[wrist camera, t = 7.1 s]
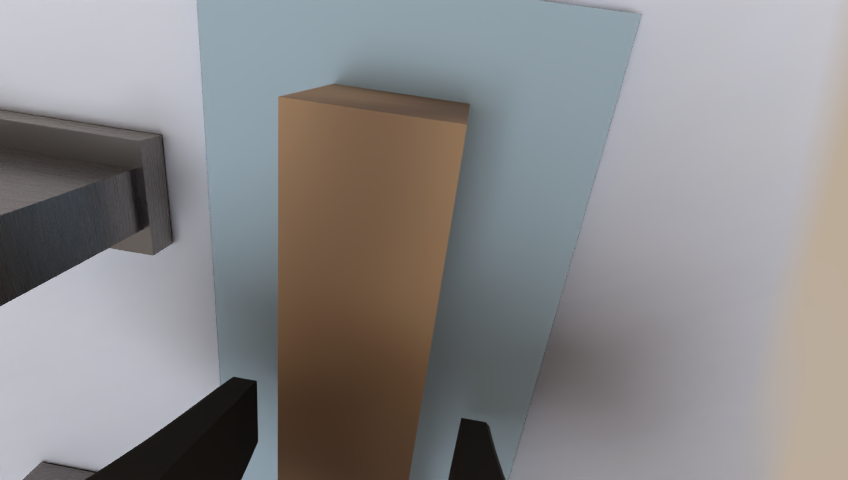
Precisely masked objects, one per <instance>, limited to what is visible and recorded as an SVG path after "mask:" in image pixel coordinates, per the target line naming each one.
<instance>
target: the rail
mask: <svg viewBox="0 0 848 480" xmlns="http://www.w3.org/2000/svg"><path fill="white" fill-rule="evenodd" d="M469 108H470V104H468V103H461V102H455V101H448V100H441V99H434V98H427V97H421V96H414V95H407V94H400V93H393V92H387V91H380V90H373V89H366V88H359V87H353V86H346V85H339V84H330V85H326V86H322V87H317V88H313V89H309V90H304V91H300V92H296V93H292V94H287V95H283V96H279V97H278V480H409V476H410V470H411V464H412V458H413V452H414V446H415V440H416V433H417V427H418V421H419V415H420V409H421V403H422V397H423V391H424V385H425V379H426V373H427V367H428V360H429V354H430V348H431V342H432V336H433V330H434V324H435V318H436V312H437V306H438V300H439V294H440V288H441V281H442V275H443V269H444V263H445V257H446V251H447V245H448V239H449V233H450V227H451V221H452V215H453V208H454V202H455V196H456V190H457V184H458V178H459V172H460V166H461V160H462V154H463V148H464V142H465V135H466V129H467V123H468V115H469Z"/></svg>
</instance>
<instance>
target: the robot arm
mask: <svg viewBox="0 0 848 480" xmlns="http://www.w3.org/2000/svg"><path fill="white" fill-rule="evenodd" d="M257 443H258V406H257V381H255V380H250V379H244V378H239V377H232V378H231V379H229V380H228V381H226V382H225V383H224V384H222V385H221V386H220V387H218V388H217V389H215V390H214V391H213V392H211V393H210V394H209V395H207V396H206V397H205V398H203V399H202V400H201V401H199V402H198V403H197V404H195V405H194V406H193V407H191V408H190V409H189V410H187V411H186V412H185V413H183V414H182V415H181V416H179V417H178V418H176V419H175V420H174V421H172V422H171V423H169V424H168V425H167V426H165V427H164V428H162V429H161V430H160V431H158V432H157V433H155V434H154V435H153V436H151V437H150V438H148V439H147V440H145V441H144V442H142V443H141V444H139V445H138V446H136V447H135V448H133V449H132V450H130V451H129V452H127V453H126V454H124V455H123V456H121V457H120V458H118V459H117V460H115V461H114V462H112V463H111V464H109V465H107V466H106V467H104V468H103V469H101V470H99V471H98V472H96V473H95V474H93V475H91V476H90V477H88V478H86V479H85V480H242V477H243V475H244V473H245V471H246V469H247V466H248V464H249V462H250V460H251V457H252V455H253V453H254V450H255V448H256V446H257ZM448 480H506V479H505V476H504V474H503V471H502V468H501V465H500V462H499V459H498V456H497V452H496V449H495V446H494V442H493V439H492V435H491V431H490V427H489V425H488V424H487V423H486V422H482V421H477V420H471V419H466V418H461V421H460V426H459V431H458V435H457V440H456V445H455V449H454V454H453V459H452V463H451V468H450V473H449V478H448Z"/></svg>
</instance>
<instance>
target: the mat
mask: <svg viewBox="0 0 848 480" xmlns="http://www.w3.org/2000/svg"><path fill="white" fill-rule="evenodd" d="M197 13H198V29H199V45H200V61H201V78H202V94H203V110H204V126H205V142H206V159H207V175H208V191H209V207H210V223H211V240H212V256H213V272H214V288H215V305H216V321H217V337H218V353H219V369H220V386H221V385H222V384H224V383H225V382H226V381H228V380H229V379H231V378H232V377H239V378H244V379H250V380H255V381H257V406H258V443H257V446H256V448H255V450H254V453H253V455H252V457H251V460H250V462H249V464H248V466H247V469H246V471H245V473H244V475H243V477H242V480H278V97H279V96H283V95H287V94H292V93H296V92H300V91H304V90H309V89H313V88H317V87H322V86H326V85H330V84H339V85H346V86H353V87H359V88H366V89H373V90H380V91H387V92H393V93H400V94H407V95H414V96H421V97H427V98H434V99H441V100H448V101H455V102H461V103H468V104H470V108H469V115H468V123H467V129H466V135H465V142H464V148H463V154H462V160H461V166H460V172H459V178H458V184H457V190H456V196H455V202H454V208H453V215H452V221H451V227H450V233H449V239H448V245H447V251H446V257H445V263H444V269H443V275H442V281H441V288H440V294H439V300H438V306H437V312H436V318H435V324H434V330H433V336H432V342H431V348H430V354H429V360H428V367H427V373H426V379H425V385H424V391H423V397H422V403H421V409H420V415H419V421H418V427H417V433H416V440H415V446H414V452H413V458H412V464H411V470H410V476H409V480H448V478H449V473H450V468H451V463H452V459H453V454H454V449H455V445H456V440H457V435H458V431H459V426H460V421H461V418H466V419H471V420H477V421H482V422H486V423H487V424H488V425H489V427H490V431H491V435H492V439H493V442H494V446H495V449H496V452H497V456H498V459H499V462H500V465H501V468H502V471H503V474H504V476H505V479H506V480H508V478H509V475H510V472H511V468H512V465H513V461H514V458H515V454H516V451H517V447H518V444H519V440H520V437H521V433H522V430H523V426H524V423H525V419H526V416H527V412H528V409H529V405H530V402H531V398H532V395H533V392H534V388H535V385H536V381H537V378H538V374H539V371H540V367H541V364H542V360H543V357H544V353H545V350H546V346H547V343H548V339H549V336H550V332H551V329H552V325H553V322H554V318H555V315H556V311H557V308H558V305H559V301H560V298H561V294H562V291H563V287H564V284H565V280H566V277H567V273H568V270H569V266H570V263H571V259H572V256H573V252H574V249H575V245H576V242H577V238H578V235H579V231H580V228H581V225H582V221H583V218H584V214H585V211H586V207H587V204H588V200H589V197H590V193H591V190H592V186H593V183H594V179H595V176H596V172H597V169H598V165H599V162H600V158H601V155H602V151H603V148H604V145H605V141H606V138H607V134H608V131H609V127H610V124H611V120H612V117H613V113H614V110H615V106H616V103H617V99H618V96H619V92H620V89H621V85H622V82H623V78H624V75H625V71H626V68H627V64H628V61H629V58H630V54H631V51H632V47H633V44H634V40H635V37H636V33H637V30H638V26H639V23H640V19H641V16H642V14H637V13H630V12H622V11H615V10H607V9H600V8H593V7H585V6H578V5H570V4H563V3H556V2H548V1H541V0H197Z"/></svg>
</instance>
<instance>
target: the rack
mask: <svg viewBox="0 0 848 480" xmlns="http://www.w3.org/2000/svg"><path fill="white" fill-rule="evenodd" d="M171 244H172V236H171V226H170V216H169V206H168V196H167V186H166V176H165V166H164V156H163V146H162V136H161V135H158V134H151V133H145V132H138V131H132V130H125V129H119V128H113V127H106V126H100V125H93V124H87V123H80V122H74V121H68V120H61V119H55V118H48V117H42V116H35V115H29V114H23V113H16V112H10V111H3V110H0V306H2V305H3V304H5V303H7V302H9V301H11V300H13V299H15V298H16V297H18V296H20V295H22V294H24V293H26V292H28V291H29V290H31V289H33V288H35V287H37V286H39V285H41V284H42V283H44V282H46V281H48V280H50V279H52V278H54V277H56V276H57V275H59V274H61V273H63V272H65V271H67V270H69V269H70V268H72V267H74V266H76V265H78V264H80V263H82V262H83V261H85V260H87V259H89V258H91V257H93V256H95V255H96V254H98V253H100V252H102V251H104V250H106V249H108V248H113V249H119V250H124V251H130V252H136V253H142V254H148V255H155V254H156V253H158V252H159V251H161V250H163V249H164V248H166V247H167V246H169V245H171ZM93 474H95V473H94V472H89V471H84V470H79V469H74V468H68V467H63V466H58V465H53V464H48V463H43V462H41V463H40V464H39V465H38V466H37V467H36V468H35V469H33V470H32V471H31V472H30V473H29V474H28V475H27V476H26V477H25V478H24V479H23V480H85V479H86V478H88V477H90V476H91V475H93Z"/></svg>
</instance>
